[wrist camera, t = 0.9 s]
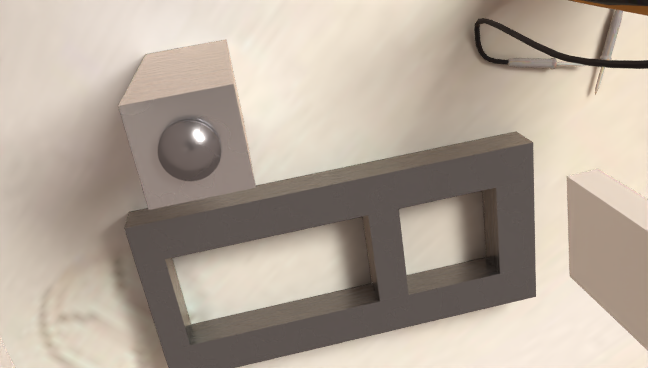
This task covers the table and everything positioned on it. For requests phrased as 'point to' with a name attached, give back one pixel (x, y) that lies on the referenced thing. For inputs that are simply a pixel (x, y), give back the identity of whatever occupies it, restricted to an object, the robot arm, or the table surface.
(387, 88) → the table surface
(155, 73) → the grey tall block
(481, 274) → the grey flat frame
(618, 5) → the multimeter
